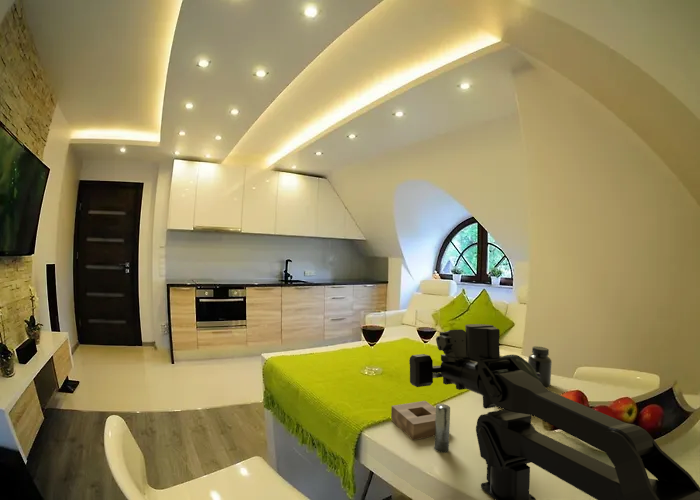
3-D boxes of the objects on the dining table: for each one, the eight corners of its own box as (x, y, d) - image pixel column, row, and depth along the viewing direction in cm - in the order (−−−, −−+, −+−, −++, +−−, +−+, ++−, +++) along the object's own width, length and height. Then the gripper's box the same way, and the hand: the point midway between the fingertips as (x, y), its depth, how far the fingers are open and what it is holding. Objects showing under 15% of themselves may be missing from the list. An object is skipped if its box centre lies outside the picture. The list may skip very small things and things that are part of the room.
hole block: (449, 432, 83) (449, 417, 83) (412, 440, 79) (413, 424, 79) (424, 414, 92) (425, 400, 92) (391, 419, 88) (391, 405, 88)
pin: (451, 451, 75) (453, 408, 75) (440, 453, 74) (441, 410, 74) (442, 443, 78) (444, 403, 78) (431, 446, 77) (433, 404, 77)
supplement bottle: (529, 386, 115) (530, 349, 115) (525, 379, 122) (526, 344, 122) (553, 389, 113) (554, 351, 113) (547, 382, 120) (549, 346, 120)
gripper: (505, 332, 75) (456, 324, 90) (432, 336, 68) (392, 327, 83) (507, 386, 74) (457, 369, 89) (433, 396, 67) (392, 376, 81)
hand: (426, 359), depth 85 cm, fingers open, 9 cm apart
